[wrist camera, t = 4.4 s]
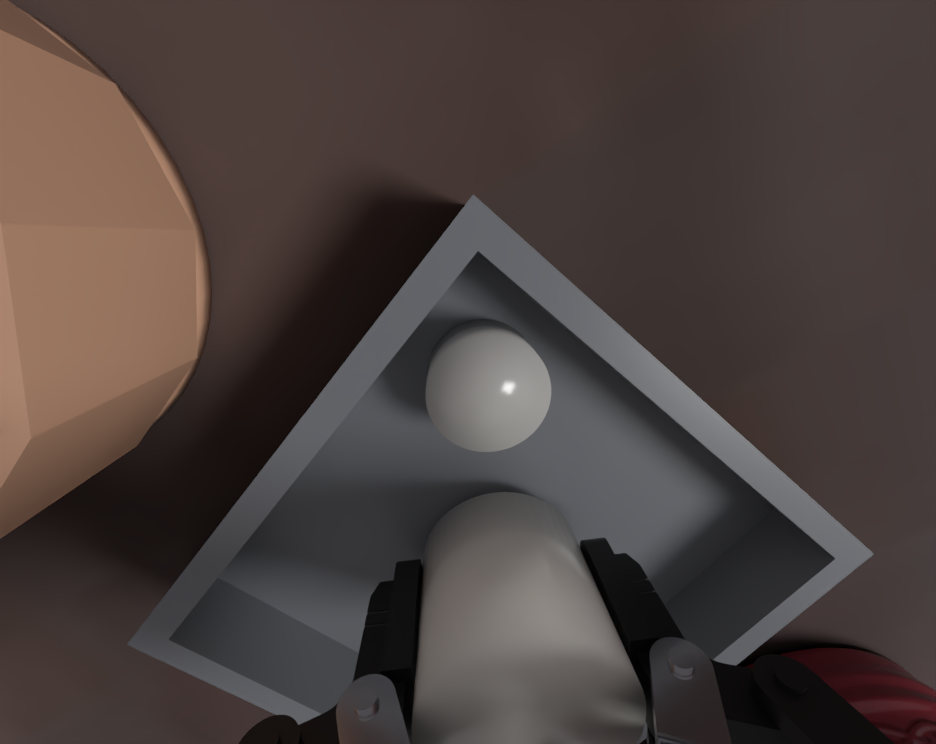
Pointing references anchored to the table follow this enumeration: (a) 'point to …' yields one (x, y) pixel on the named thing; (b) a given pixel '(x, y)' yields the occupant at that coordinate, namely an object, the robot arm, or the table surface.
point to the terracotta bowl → (85, 270)
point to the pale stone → (517, 634)
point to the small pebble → (486, 386)
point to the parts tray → (490, 489)
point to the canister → (876, 691)
